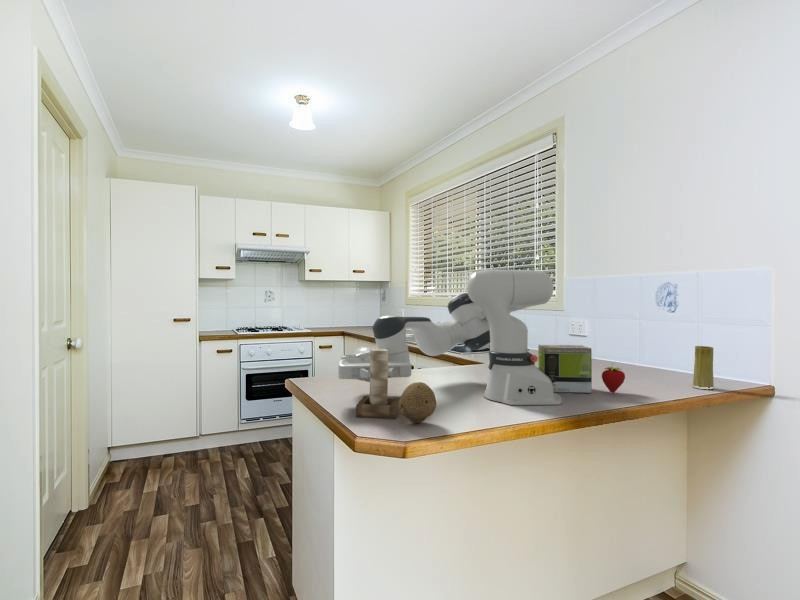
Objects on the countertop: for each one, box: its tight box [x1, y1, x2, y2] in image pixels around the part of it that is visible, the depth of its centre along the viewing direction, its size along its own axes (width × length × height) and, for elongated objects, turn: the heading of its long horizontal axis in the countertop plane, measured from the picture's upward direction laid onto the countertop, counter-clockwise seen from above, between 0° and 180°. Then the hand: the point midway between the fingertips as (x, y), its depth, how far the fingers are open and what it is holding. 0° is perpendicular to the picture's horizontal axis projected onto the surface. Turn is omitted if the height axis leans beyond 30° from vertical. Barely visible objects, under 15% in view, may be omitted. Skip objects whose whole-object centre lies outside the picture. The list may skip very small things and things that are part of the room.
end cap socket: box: [355, 395, 401, 420], centre depth 118 cm, size 10×10×3 cm
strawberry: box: [601, 362, 626, 393], centre depth 146 cm, size 6×8×10 cm
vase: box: [692, 345, 715, 388], centre depth 155 cm, size 6×6×14 cm
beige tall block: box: [369, 348, 389, 405], centre depth 118 cm, size 4×4×14 cm
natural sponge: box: [398, 381, 437, 424], centre depth 109 cm, size 9×9×10 cm
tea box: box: [537, 344, 593, 394], centre depth 150 cm, size 15×10×15 cm
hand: (379, 374), depth 117 cm, fingers closed on beige tall block, 4 cm apart
